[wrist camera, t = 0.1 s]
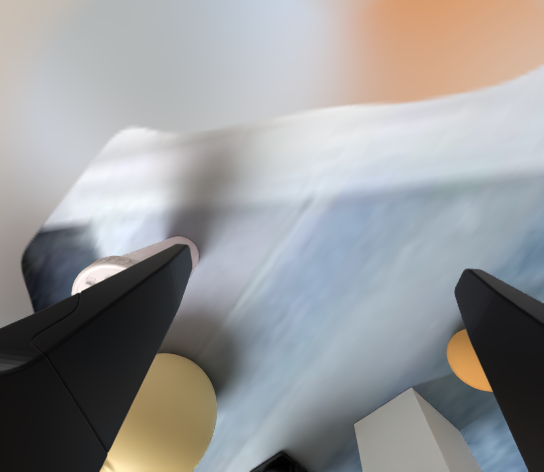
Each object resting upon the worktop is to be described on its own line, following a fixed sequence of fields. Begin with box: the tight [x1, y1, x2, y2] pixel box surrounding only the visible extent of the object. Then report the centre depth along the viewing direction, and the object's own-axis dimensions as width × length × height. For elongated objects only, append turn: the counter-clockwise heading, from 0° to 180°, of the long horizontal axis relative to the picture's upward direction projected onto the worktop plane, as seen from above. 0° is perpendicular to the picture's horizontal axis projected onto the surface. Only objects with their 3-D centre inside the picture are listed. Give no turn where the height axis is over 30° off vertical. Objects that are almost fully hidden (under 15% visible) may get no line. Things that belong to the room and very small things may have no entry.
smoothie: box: [72, 236, 199, 295], centre depth 20 cm, size 6×6×14 cm
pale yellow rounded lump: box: [100, 353, 217, 472], centre depth 27 cm, size 12×12×11 cm
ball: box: [447, 329, 493, 392], centre depth 24 cm, size 5×5×5 cm
